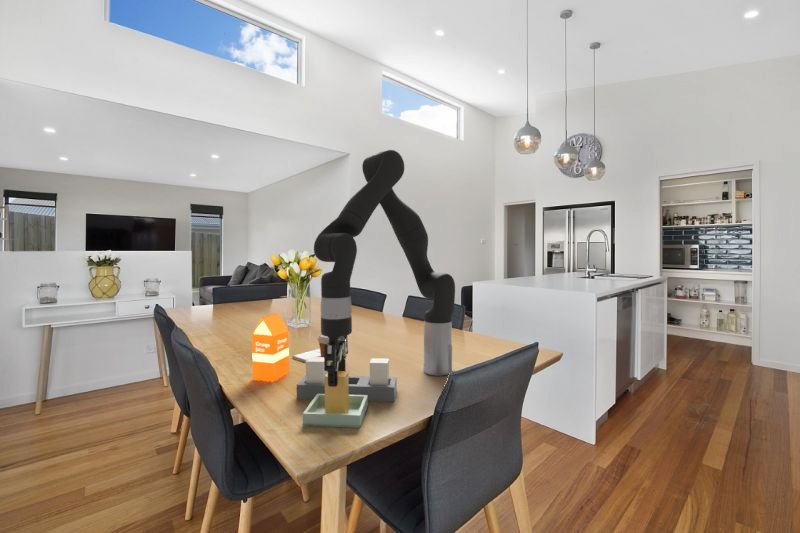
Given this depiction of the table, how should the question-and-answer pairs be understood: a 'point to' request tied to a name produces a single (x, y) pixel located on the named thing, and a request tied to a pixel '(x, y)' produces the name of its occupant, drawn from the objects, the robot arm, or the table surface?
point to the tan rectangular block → (337, 394)
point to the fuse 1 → (315, 370)
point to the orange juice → (270, 349)
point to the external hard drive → (307, 355)
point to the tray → (352, 419)
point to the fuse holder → (352, 389)
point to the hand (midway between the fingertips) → (337, 379)
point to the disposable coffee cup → (322, 342)
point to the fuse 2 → (379, 371)
